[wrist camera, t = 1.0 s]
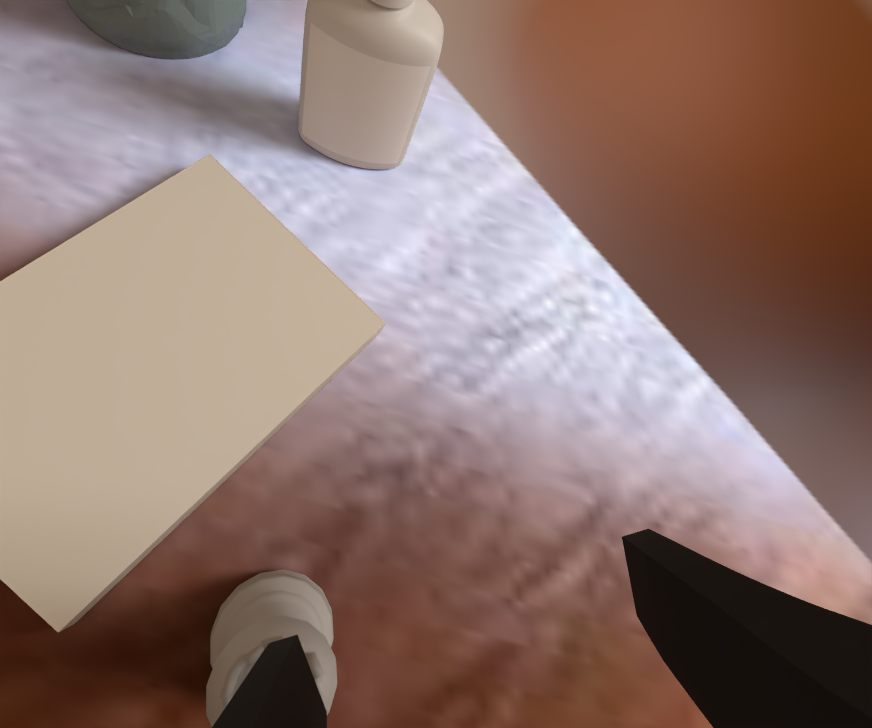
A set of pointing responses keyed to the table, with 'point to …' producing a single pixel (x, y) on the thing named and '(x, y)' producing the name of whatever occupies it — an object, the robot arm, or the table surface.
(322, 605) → the rook chess piece
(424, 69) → the eye dropper bottle
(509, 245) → the table surface
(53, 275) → the cream tile
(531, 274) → the table surface
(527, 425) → the table surface
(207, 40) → the green cup
